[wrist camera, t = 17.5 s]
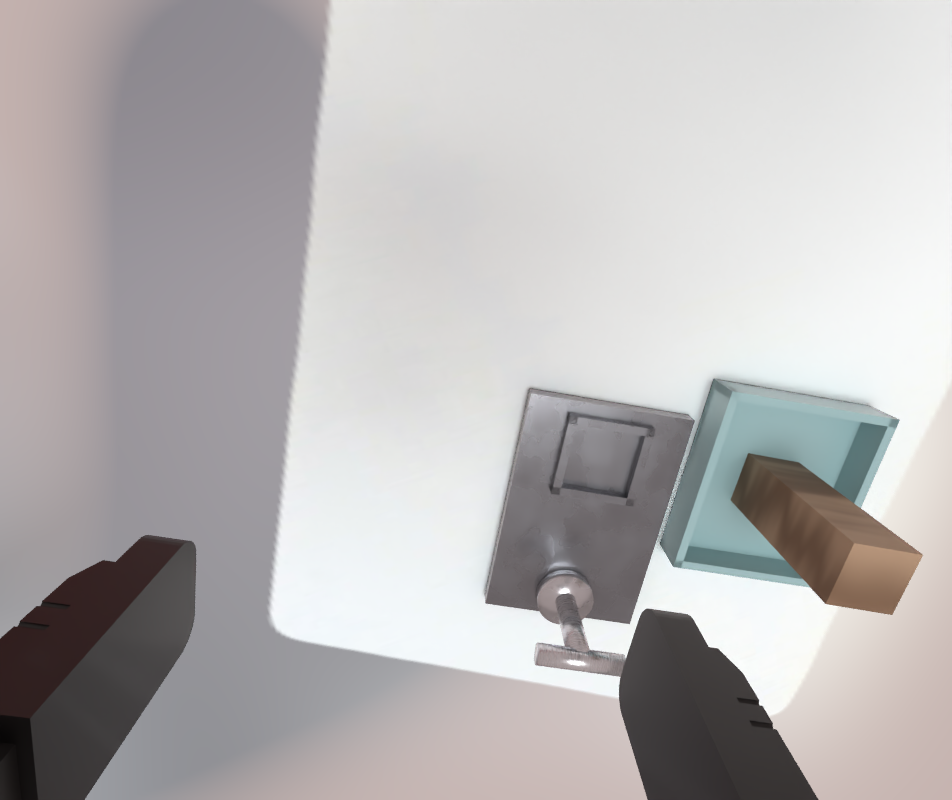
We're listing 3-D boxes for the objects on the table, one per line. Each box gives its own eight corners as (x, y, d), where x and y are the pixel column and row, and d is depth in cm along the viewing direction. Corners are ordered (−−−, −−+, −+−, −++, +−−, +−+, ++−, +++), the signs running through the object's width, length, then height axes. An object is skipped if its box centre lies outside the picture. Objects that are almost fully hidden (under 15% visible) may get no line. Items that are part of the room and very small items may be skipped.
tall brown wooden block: (748, 453, 41) (854, 543, 30) (798, 462, 41) (923, 554, 30) (730, 500, 42) (825, 603, 31) (779, 508, 43) (892, 614, 31)
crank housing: (529, 388, 40) (545, 434, 32) (688, 415, 41) (745, 466, 32) (484, 595, 46) (487, 681, 37) (625, 615, 46) (659, 704, 38)
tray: (713, 379, 40) (732, 391, 37) (869, 405, 41) (899, 419, 38) (660, 544, 44) (673, 566, 41) (802, 565, 45) (824, 589, 42)
